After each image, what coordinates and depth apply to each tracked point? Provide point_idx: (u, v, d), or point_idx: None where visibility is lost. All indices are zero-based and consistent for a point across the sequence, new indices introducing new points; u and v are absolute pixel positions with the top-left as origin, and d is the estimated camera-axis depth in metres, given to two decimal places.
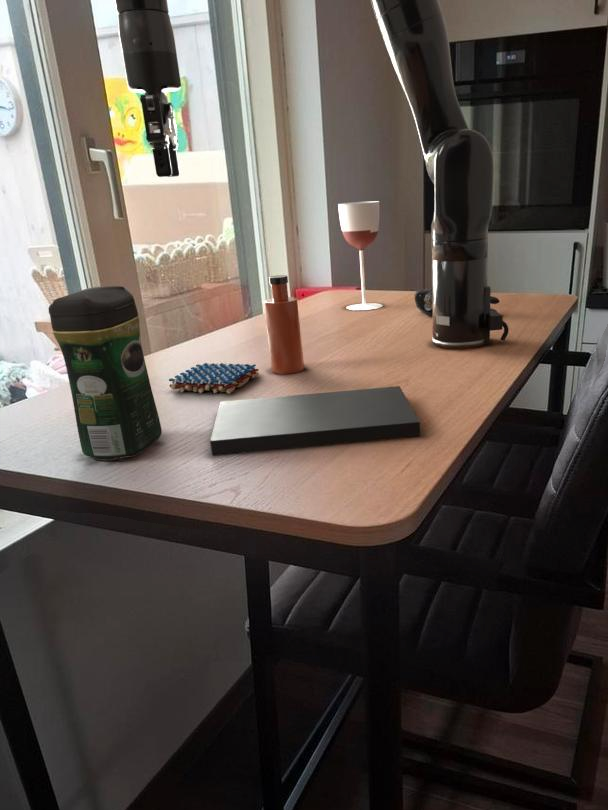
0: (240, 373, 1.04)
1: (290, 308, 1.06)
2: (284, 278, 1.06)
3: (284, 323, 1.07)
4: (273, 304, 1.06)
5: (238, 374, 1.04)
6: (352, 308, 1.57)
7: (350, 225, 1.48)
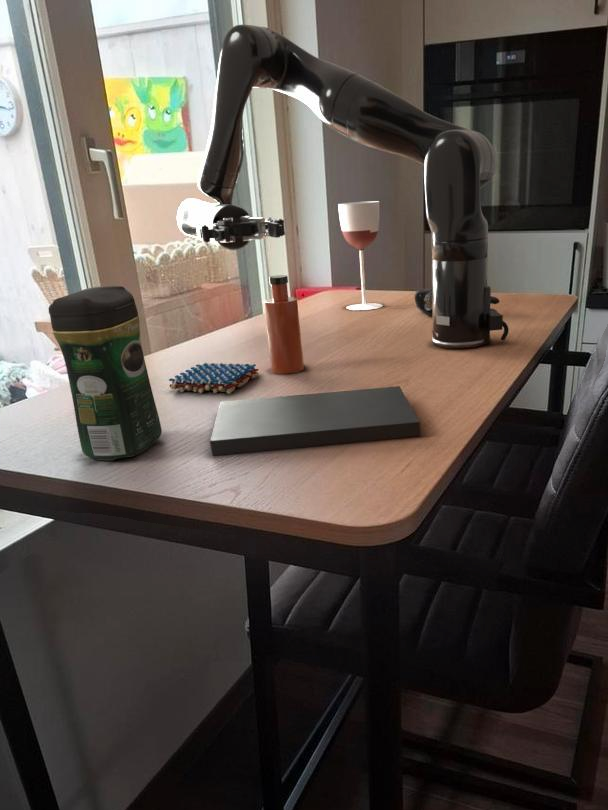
0: (240, 373, 1.04)
1: (290, 308, 1.06)
2: (284, 278, 1.06)
3: (284, 323, 1.07)
4: (273, 304, 1.06)
5: (238, 374, 1.04)
6: (352, 308, 1.57)
7: (349, 225, 1.48)
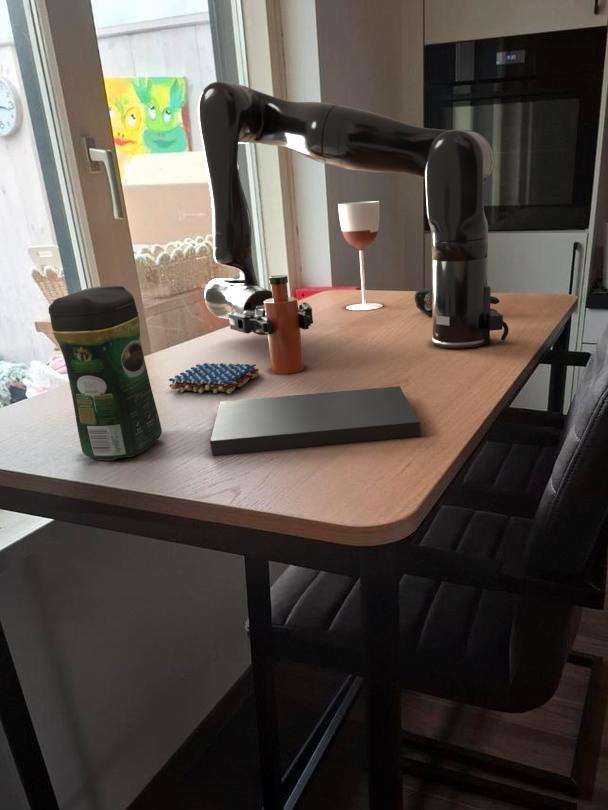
0: (240, 373, 1.04)
1: (290, 308, 1.06)
2: (284, 278, 1.06)
3: (284, 323, 1.07)
4: (273, 304, 1.06)
5: (238, 374, 1.04)
6: (352, 308, 1.57)
7: (349, 225, 1.48)
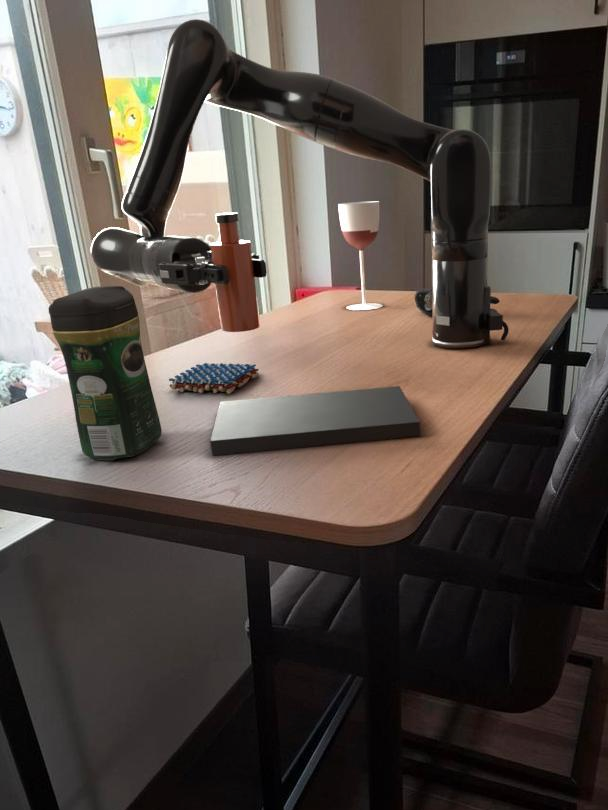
0: (240, 373, 1.04)
1: (246, 251, 0.89)
2: (236, 215, 0.88)
3: (240, 270, 0.90)
4: (226, 246, 0.88)
5: (238, 374, 1.04)
6: (352, 308, 1.57)
7: (349, 225, 1.48)
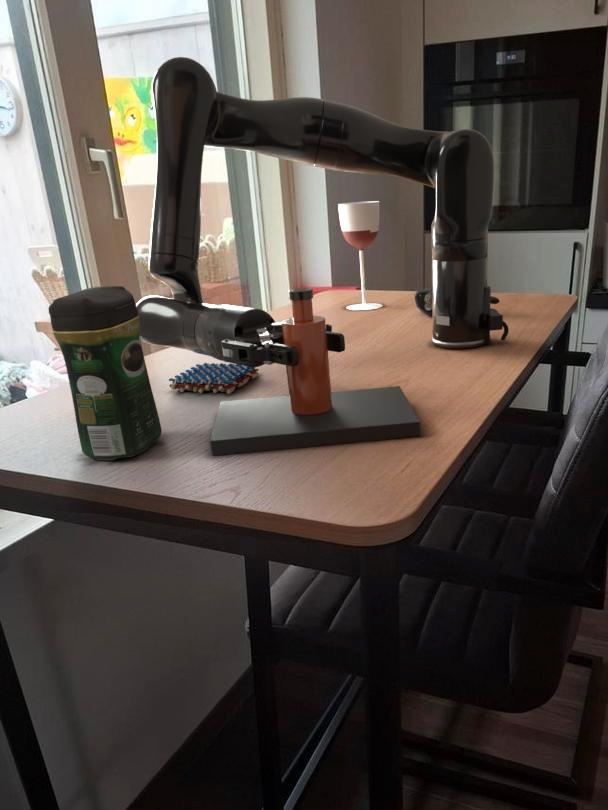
0: (240, 373, 1.04)
1: (322, 329, 0.82)
2: (311, 291, 0.81)
3: (316, 350, 0.82)
4: (302, 326, 0.81)
5: (238, 374, 1.04)
6: (352, 308, 1.57)
7: (349, 225, 1.48)
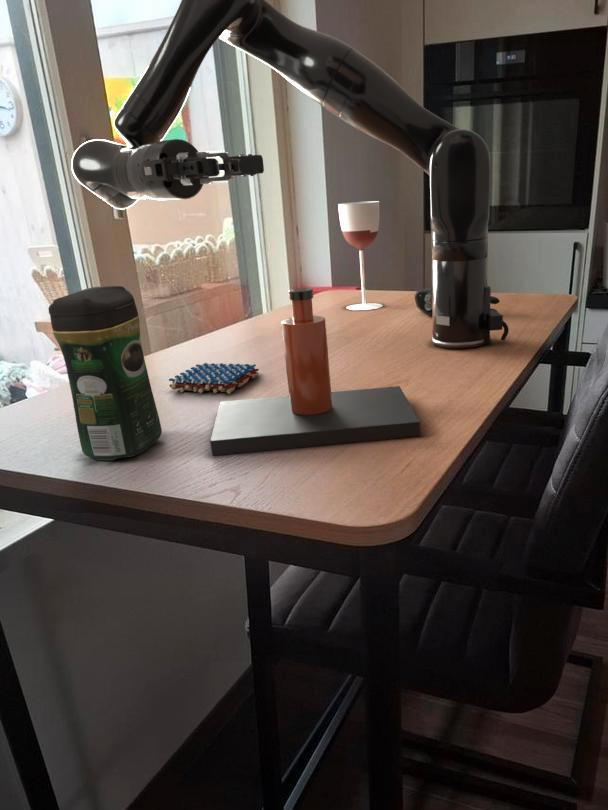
0: (240, 373, 1.04)
1: (322, 329, 0.82)
2: (311, 291, 0.81)
3: (316, 350, 0.82)
4: (302, 326, 0.81)
5: (238, 374, 1.04)
6: (352, 308, 1.57)
7: (349, 225, 1.48)
